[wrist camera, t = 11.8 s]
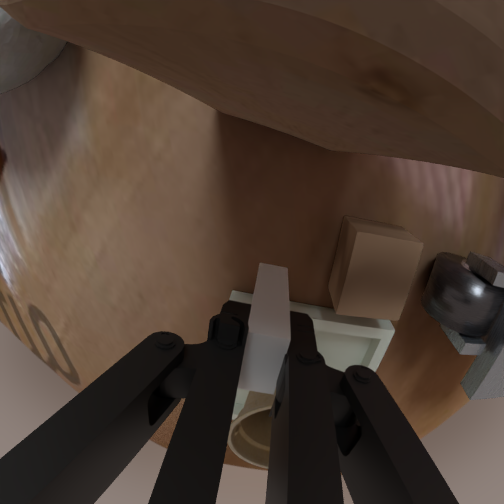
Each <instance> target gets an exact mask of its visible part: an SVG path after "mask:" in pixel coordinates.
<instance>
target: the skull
mask: <svg viewBox="0 0 504 504" xmlns="http://www.w3.org/2000/svg"><path fill="white" fill-rule="evenodd" d="M66 43H67V41H65V40H62V39H59V38H56V37H53V36H50V35H47V34H44V33H41V32H37V31H34V30H31V29H27V28H26V27H24V26H23V25H22V24H20V23H19V22H18V21H16V20H15V19H13V18H12V17H11V16H10V15H9V14H8V13H7V12H6V11H4V10H3V9H2V8H1V7H0V94H1V93H4V92H7V91H10V90H12V89H15V88H17V87H19V86H21V85H23V84H24V83H26V82H28V81H30V80H31V79H33V78H34V77H36V76H37V75H38V74H39V73H40V72H41V71H42V70H43V69H44V68H45V67H46V66H47V65H48V64H49V63H51V62H52V61H53V60H55V59H56V58H57V57H58V56H59V54H60V53H61V51H62V50H63V48H64V46H65V45H66Z"/></svg>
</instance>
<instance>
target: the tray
mask: <svg viewBox="0 0 504 504" xmlns="http://www.w3.org/2000/svg"><path fill="white" fill-rule="evenodd" d="M252 299H253V294H250V293H245V292H240V291H235V290H232V293H231V296H230V299H229V300H232V301H237V302H242V303H247V304H252ZM289 306H290V311H295V312H300V313H306V314H308V315H309V316H310V318H311V319H312V320H313V325H314V331H315V338H316V344H317V351H318V352H319V353H320V354H321V355H322V356H323V357H324V359H325V364H326V365H328V366H329V367H332V368H334V369H337V370H340V371H343V372H345V370H346V368H348V367H349V366H352V365H362V366H366V367H368V368H370V369H371V370H373V371H374V372H376V370H377V368H378V366H379V364H380V362H381V360H382V358H383V356H384V354H385V352H386V350H387V348H388V346H389V343H390V341H391V339H392V337H393V335H394V333H395V329H394V327H393V325H392V323H391V322H390V320H384V319H374V318H365V317H356V316H347V315H339V314H336V313H335V309H332V308H326V307H321V306H315V305H309V304H303V303H298V302H292V301H289ZM248 394H249V390H244V389H239V388H237V394H236V399H235V404H234V410H233V415H232V420H234V419H236V418H237V416H238V414H239V413H240V411H241V410H242V409H243V408H244V405H245V402H246V399H247V396H248Z"/></svg>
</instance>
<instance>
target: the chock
mask: <svg viewBox="0 0 504 504" xmlns="http://www.w3.org/2000/svg"><path fill="white" fill-rule="evenodd" d="M423 246H424V243H422V242H421V241H420V240H418V239H417V238H416V237H415V236H413V235H412V234H411V233H409V232H408V231H407V230H405V229H404V228H403V227H400V226H396V225H391V224H386V223H381V222H375V221H370V220H365V219H360V218H354V217H349V216H344V218H343V223H342V227H341V232H340V237H339V241H338V246H337V250H336V255H335V259H334V263H333V268H332V272H331V276H330V280H329V284H328V289H329V292H330V296H331V299H332V302H333V306H334V309H335V313H336V314H339V315H347V316H356V317H365V318H374V319H384V320H395V321H399V319H400V316H401V313H402V311H403V308H404V305H405V303H406V300H407V297H408V294H409V291H410V288H411V285H412V282H413V279H414V276H415V273H416V270H417V267H418V263H419V260H420V257H421V253H422V250H423Z"/></svg>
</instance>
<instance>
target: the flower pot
mask: <svg viewBox="0 0 504 504" xmlns="http://www.w3.org/2000/svg"><path fill="white" fill-rule="evenodd" d="M275 396H276V389H275V392H274V395H273V394H267V393H261V392H255V391H249V394H248V396H247V399H246V402H245V405H244V408H243V409H242V410H241V411H240V413H239V414H238V416H237V418H236V419H234V420H233V422H232V423H231V426H230V431H229V436H228V441H227V442H228V445H229V447H230V449H231V450H232V451H233V452H234V454H236V455H237V456H238V457H239V458H241V459H243V460H244V461H246V462H248V463H250V464H252V465H255V466H258V467H262V468H266V469H268V466H269V453H270V438H271V423H272V416H271V417H269V413H270V411H271V408H272V405H273V402H274V399H275Z"/></svg>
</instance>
